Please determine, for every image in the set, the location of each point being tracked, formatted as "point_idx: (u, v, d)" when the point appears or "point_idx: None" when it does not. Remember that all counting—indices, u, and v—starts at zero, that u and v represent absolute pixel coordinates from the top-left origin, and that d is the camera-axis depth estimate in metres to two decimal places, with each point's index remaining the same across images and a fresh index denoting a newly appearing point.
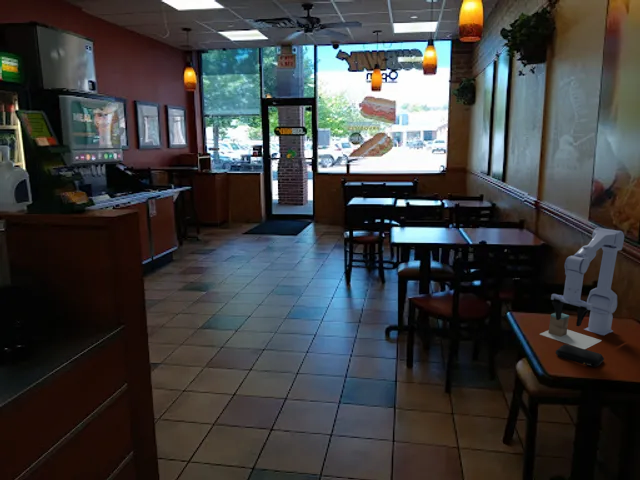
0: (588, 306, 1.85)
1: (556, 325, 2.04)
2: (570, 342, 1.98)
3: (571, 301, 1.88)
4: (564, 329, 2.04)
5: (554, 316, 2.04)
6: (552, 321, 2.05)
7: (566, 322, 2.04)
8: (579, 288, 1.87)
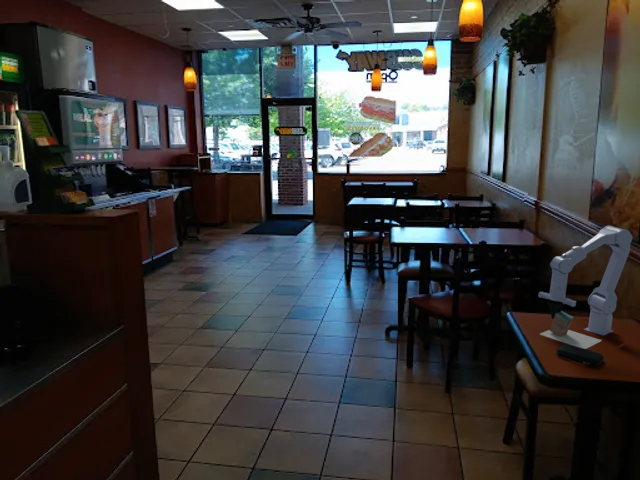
0: (572, 303, 1.99)
1: (559, 325, 2.03)
2: (570, 342, 1.98)
3: (556, 298, 2.02)
4: (565, 330, 2.03)
5: (559, 316, 2.02)
6: (555, 320, 2.04)
7: (569, 323, 2.03)
8: (560, 286, 2.01)
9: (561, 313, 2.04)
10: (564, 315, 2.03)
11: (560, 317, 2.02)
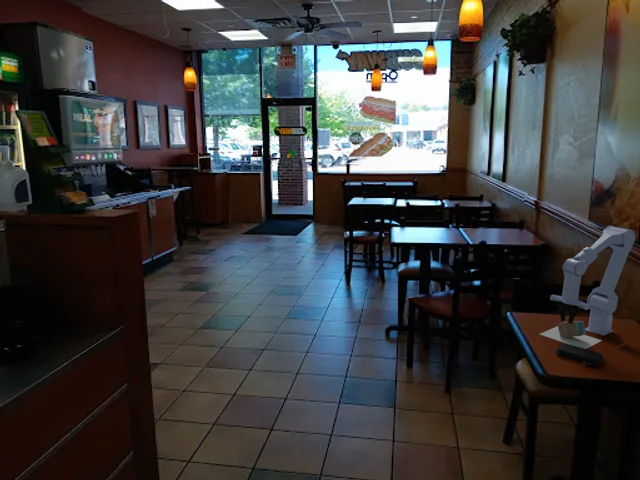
0: (585, 306, 1.95)
1: (569, 331, 2.00)
2: (570, 342, 1.98)
3: (569, 301, 1.98)
4: None
5: (577, 327, 1.97)
6: (570, 326, 1.99)
7: None
8: (575, 289, 1.97)
9: (581, 324, 1.98)
10: (581, 329, 1.98)
11: (577, 329, 1.97)
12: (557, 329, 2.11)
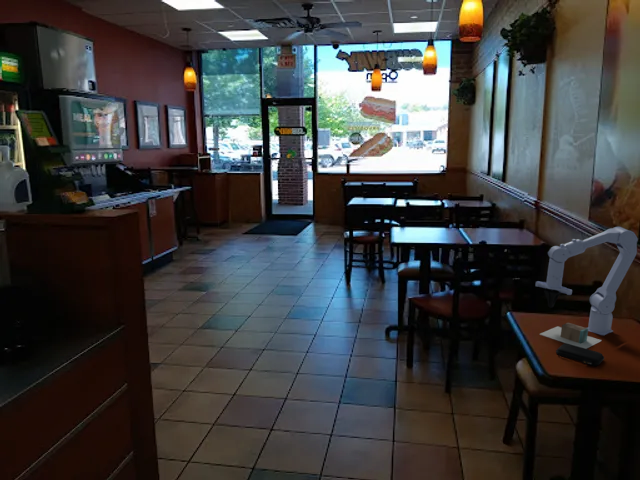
0: (568, 291, 2.04)
1: (571, 335, 1.99)
2: (570, 342, 1.98)
3: (553, 287, 2.07)
4: None
5: (580, 334, 1.96)
6: (574, 331, 1.98)
7: None
8: (555, 275, 2.06)
9: (585, 332, 1.97)
10: (583, 336, 1.97)
11: (580, 336, 1.97)
12: (557, 329, 2.11)
